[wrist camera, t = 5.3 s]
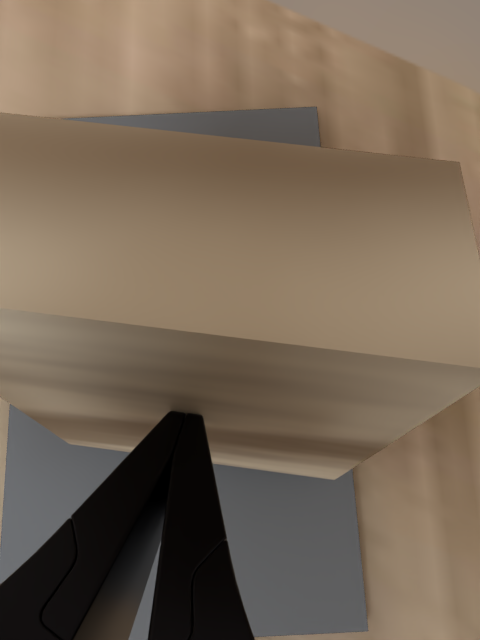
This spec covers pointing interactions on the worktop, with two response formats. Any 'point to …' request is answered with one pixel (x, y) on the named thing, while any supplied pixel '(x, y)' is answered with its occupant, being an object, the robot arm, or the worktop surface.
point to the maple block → (232, 291)
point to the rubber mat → (232, 482)
